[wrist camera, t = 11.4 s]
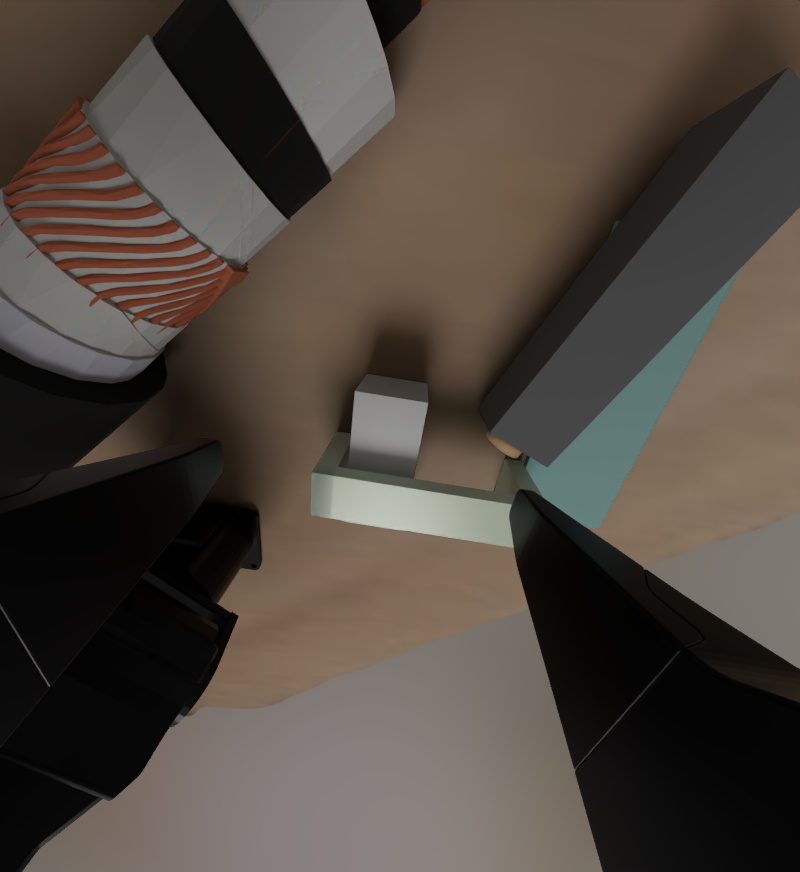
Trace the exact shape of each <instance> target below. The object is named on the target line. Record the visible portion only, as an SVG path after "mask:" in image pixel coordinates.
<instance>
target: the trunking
mask: <svg viewBox="0 0 800 872" xmlns="http://www.w3.org/2000/svg"><path fill="white" fill-rule="evenodd" d="M427 407H428V389H427V383H421V382H415V381H409V380H403V379H397V378H391V377H384V376H378V375H372V374H366V376H365V377H364V379H363V380H362V381H361V383H360V384H359V386H358V387H357V389H356V390H355V395H354V406H353V418H352V429H351V441H350V452H349V464H348V468H349V469H355V470H361V471H368V472H374V473H380V474H386V475H393V476H399V477H405V478H411V479H413V478H414V473H415V468H416V463H417V458H418V453H419V448H420V443H421V438H422V433H423V428H424V423H425V417H426V412H427ZM345 522H350V521H345ZM351 523H356V522H351ZM357 524H363V523H357ZM363 525H369V524H363ZM370 526H375V525H370ZM376 527H381V526H376ZM382 528H388V527H382ZM388 529H394V528H388ZM395 530H400V529H395ZM401 531H403V530H401Z"/></svg>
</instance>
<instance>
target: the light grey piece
mask: <svg viewBox="0 0 800 872" xmlns="http://www.w3.org/2000/svg"><path fill="white" fill-rule="evenodd" d="M350 441H351V434H350V433H344V432H338V431H337V433H336V434H335V436H334V437H333V439H332V441H331V442H330V444H329V445H328V447H327V449H326V450H325V452H324V454H323V455H322V457H321V458H320V460H319V462H318V463H317V465H316V467H315V468H314V470H313V471H312V485H311V515H313V516H319V517H325V518H331V519H338V520H344V521H350V522H356V523H363V524H369V525H375V526H381V527H388V528H394V529H400V530H406V531H413V532H419V533H425V534H431V535H438V536H444V537H450V538H456V539H463V540H469V541H475V542H481V543H487V544H494V545H500V546H506V547H512V548H514V546H513V539H512V533H511V527H510V521H509V512H510V509H511V506H512V503H513V501H514V498H515V495H516V493H517V491H518V490H519V489H526V490H532V491H534V492H536V493H537V494H539V495H540V496H542V495H541V493H540V491H539V490H538V488H537V486H536V485H535V483H534V481H533V480H532V478H531V476H530V475H529V473H528V471H527V470H526V468H525V466H524V465H523V463H522V461H518V460H511V459H505V460H504V463H503V466H502V469H501V472H500V475H499V478H498V481H497V484H496V487H495V490H494V492H492V491H486V490H480V489H473V488H467V487H461V486H455V485H449V484H442V483H436V482H430V481H424V480H417V479H411V478H405V477H399V476H393V475H386V474H380V473H374V472H368V471H361V470H355V469H349V468H348V464H349V452H350ZM542 497H543V496H542Z"/></svg>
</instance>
